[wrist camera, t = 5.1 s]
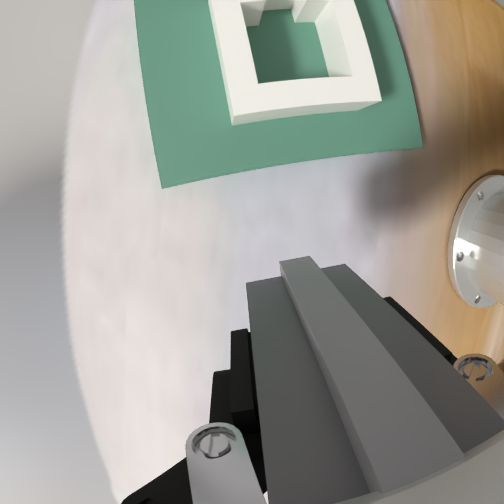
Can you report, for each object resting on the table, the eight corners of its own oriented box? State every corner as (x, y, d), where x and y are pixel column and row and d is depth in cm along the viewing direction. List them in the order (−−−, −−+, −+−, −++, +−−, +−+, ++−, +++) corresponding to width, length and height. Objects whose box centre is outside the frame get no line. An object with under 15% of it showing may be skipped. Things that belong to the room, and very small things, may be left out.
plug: (343, 249, 12) (537, 418, 2) (349, 347, 13) (456, 535, 4) (243, 268, 12) (266, 529, 2) (262, 366, 13) (295, 588, 4)
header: (326, -5, 16) (342, -28, 13) (357, 110, 18) (381, 100, 15) (208, 3, 16) (206, -24, 12) (232, 125, 18) (233, 115, 15)
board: (370, -11, 17) (378, -19, 16) (412, 148, 21) (423, 147, 19) (138, 8, 16) (133, -1, 15) (166, 187, 20) (161, 188, 19)
